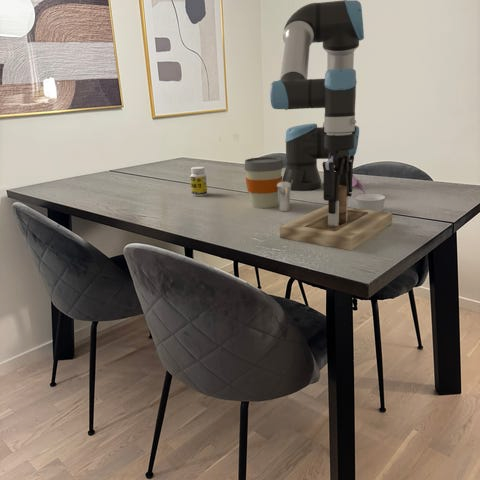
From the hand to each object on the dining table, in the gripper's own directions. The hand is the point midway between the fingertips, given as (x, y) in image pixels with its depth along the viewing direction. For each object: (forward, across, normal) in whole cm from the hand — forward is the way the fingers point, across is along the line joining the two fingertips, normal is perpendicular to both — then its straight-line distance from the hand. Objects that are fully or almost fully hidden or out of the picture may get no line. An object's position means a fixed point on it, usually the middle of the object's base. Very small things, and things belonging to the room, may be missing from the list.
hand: (337, 222), depth 128 cm
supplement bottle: (+2, +17, +65) cm, 67 cm away
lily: (+2, +40, +13) cm, 42 cm away
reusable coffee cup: (+2, +15, +34) cm, 37 cm away
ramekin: (+2, +24, +1) cm, 24 cm away
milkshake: (+2, +12, +24) cm, 27 cm away
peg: (0, 0, 0) cm, 0 cm away
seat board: (+2, 0, 0) cm, 2 cm away
